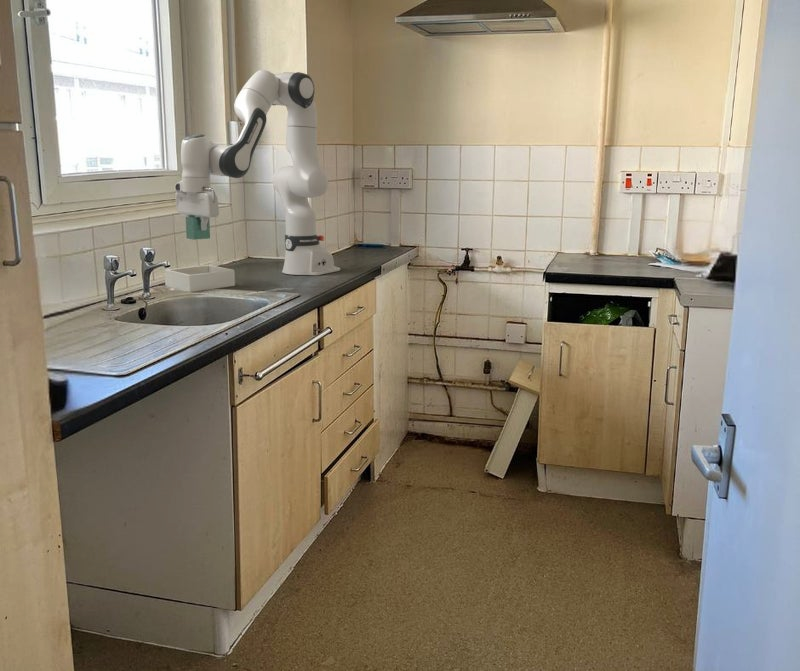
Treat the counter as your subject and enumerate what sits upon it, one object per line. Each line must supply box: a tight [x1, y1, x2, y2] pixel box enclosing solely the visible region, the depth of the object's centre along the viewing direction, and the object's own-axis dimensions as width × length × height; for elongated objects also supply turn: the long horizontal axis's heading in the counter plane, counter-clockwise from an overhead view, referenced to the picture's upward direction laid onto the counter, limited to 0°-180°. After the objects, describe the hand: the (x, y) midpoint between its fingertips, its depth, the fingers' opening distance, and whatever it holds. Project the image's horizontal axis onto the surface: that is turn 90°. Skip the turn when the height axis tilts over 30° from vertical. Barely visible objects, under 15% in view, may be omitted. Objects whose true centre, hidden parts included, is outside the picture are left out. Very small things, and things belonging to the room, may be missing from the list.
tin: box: [185, 216, 211, 241], centre depth 258 cm, size 6×4×7 cm
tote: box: [164, 264, 236, 293], centre depth 263 cm, size 17×15×6 cm
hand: (198, 229), depth 259 cm, fingers closed on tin, 4 cm apart
